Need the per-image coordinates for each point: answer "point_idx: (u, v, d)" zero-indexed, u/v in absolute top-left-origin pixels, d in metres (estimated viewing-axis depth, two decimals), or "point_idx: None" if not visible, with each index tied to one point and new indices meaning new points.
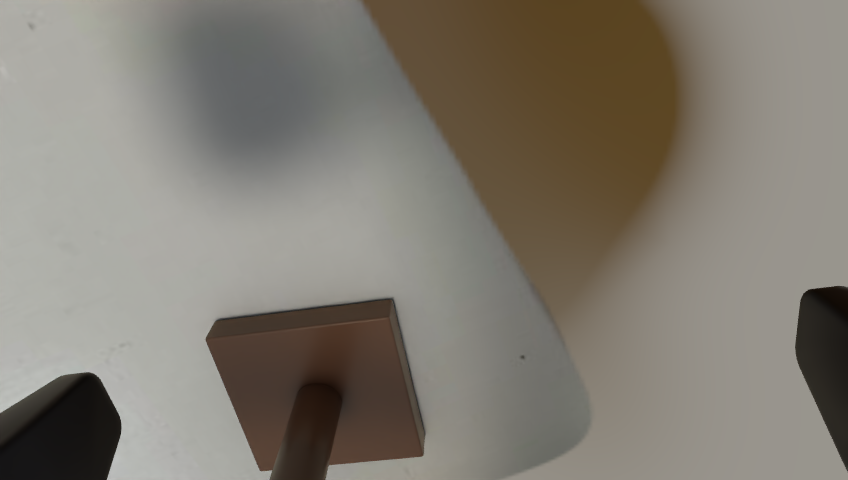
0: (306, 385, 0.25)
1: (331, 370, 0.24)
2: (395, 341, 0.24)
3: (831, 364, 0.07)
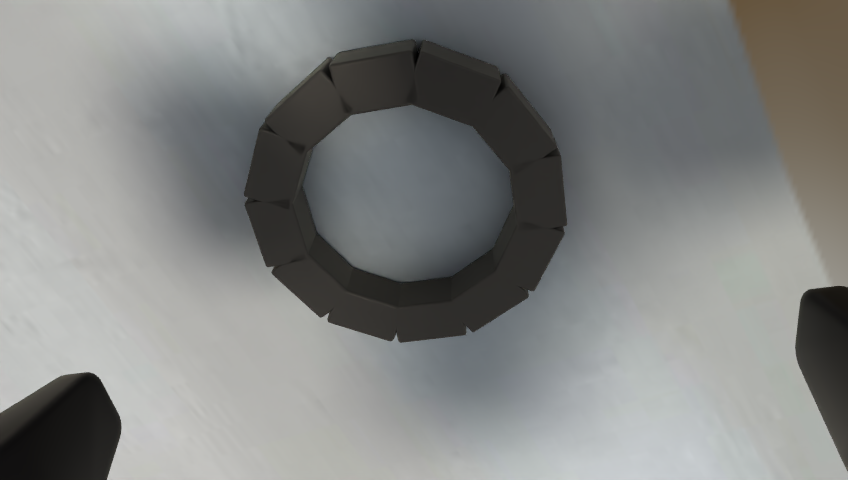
0: None
1: None
2: None
3: (831, 364, 0.07)
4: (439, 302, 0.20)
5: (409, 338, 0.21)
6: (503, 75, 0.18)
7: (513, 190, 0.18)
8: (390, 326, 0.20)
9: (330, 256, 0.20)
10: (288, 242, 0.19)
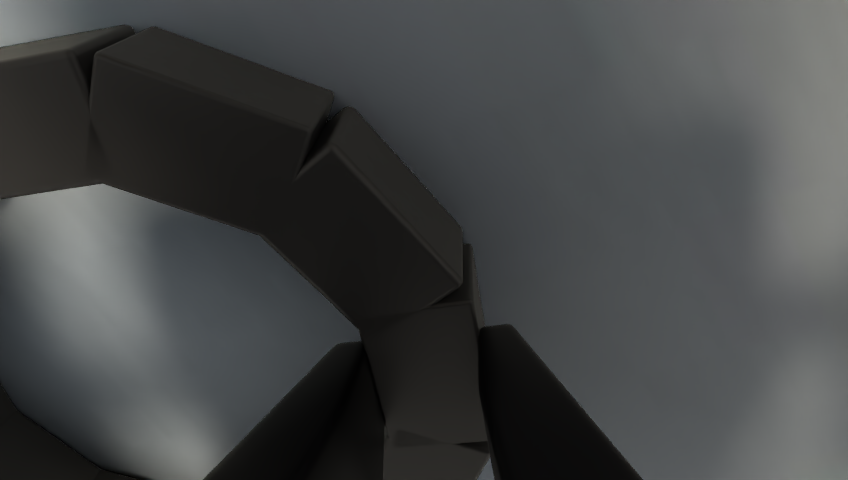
0: None
1: None
2: None
3: None
4: None
5: None
6: (343, 111, 0.08)
7: (371, 370, 0.08)
8: None
9: (36, 459, 0.10)
10: None
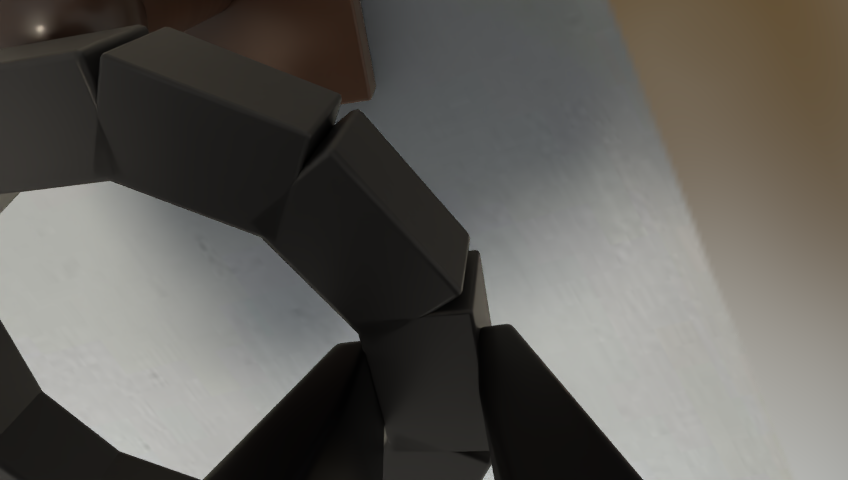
0: None
1: None
2: None
3: None
4: None
5: None
6: (350, 113, 0.08)
7: (371, 374, 0.08)
8: None
9: (58, 439, 0.11)
10: None
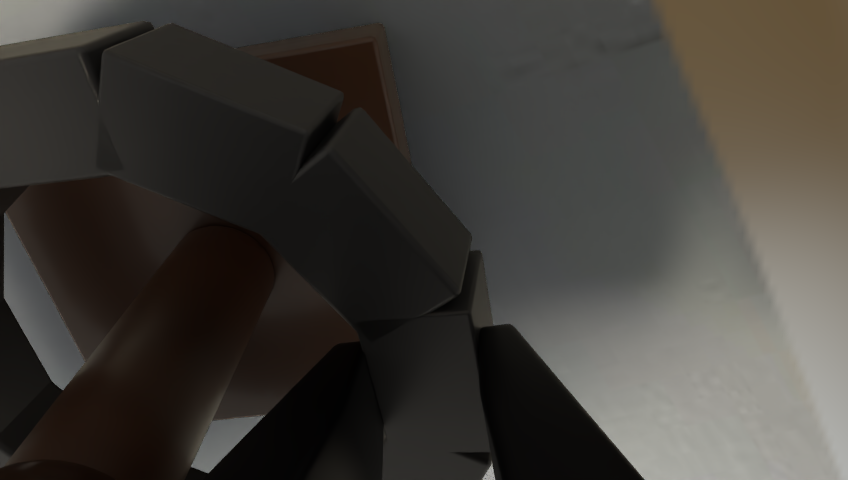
0: None
1: (132, 238, 0.11)
2: None
3: None
4: None
5: None
6: (351, 112, 0.08)
7: None
8: None
9: None
10: None
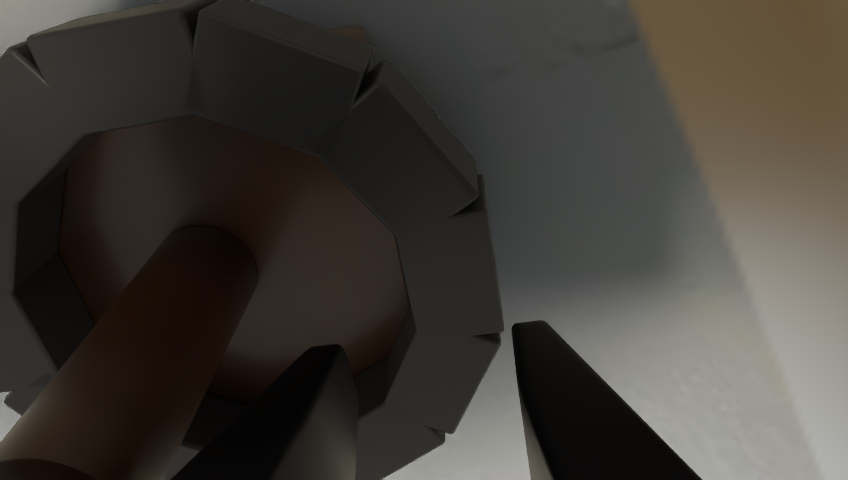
0: None
1: (115, 239, 0.11)
2: None
3: None
4: None
5: None
6: (382, 62, 0.10)
7: (404, 271, 0.10)
8: None
9: None
10: (20, 355, 0.11)
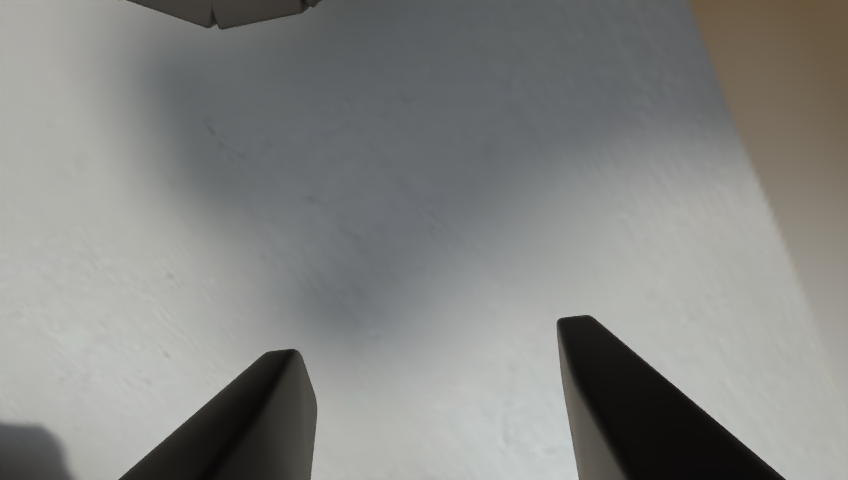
0: None
1: None
2: None
3: (567, 391, 0.07)
4: None
5: (230, 19, 0.16)
6: None
7: None
8: (203, 1, 0.15)
9: None
10: None
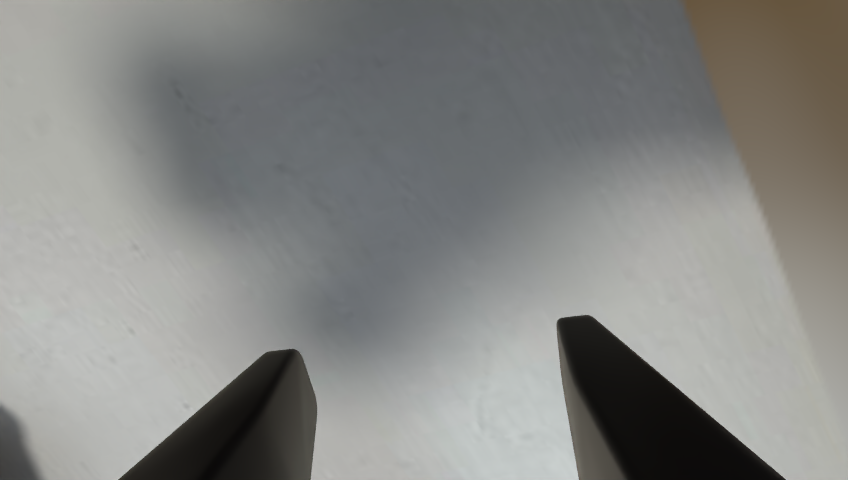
0: None
1: None
2: None
3: (567, 390, 0.07)
4: None
5: None
6: None
7: None
8: None
9: None
10: None
